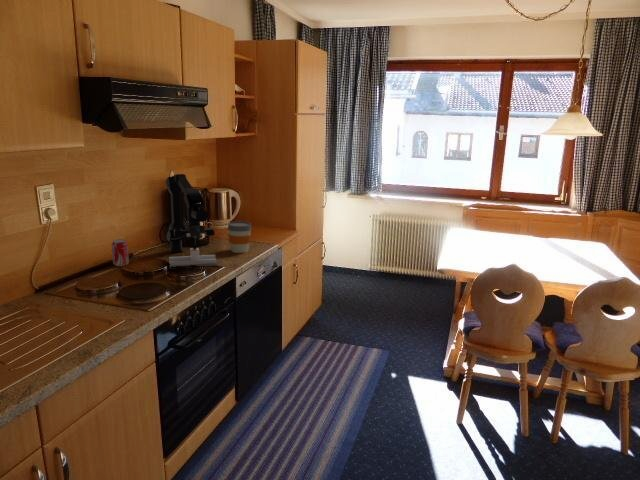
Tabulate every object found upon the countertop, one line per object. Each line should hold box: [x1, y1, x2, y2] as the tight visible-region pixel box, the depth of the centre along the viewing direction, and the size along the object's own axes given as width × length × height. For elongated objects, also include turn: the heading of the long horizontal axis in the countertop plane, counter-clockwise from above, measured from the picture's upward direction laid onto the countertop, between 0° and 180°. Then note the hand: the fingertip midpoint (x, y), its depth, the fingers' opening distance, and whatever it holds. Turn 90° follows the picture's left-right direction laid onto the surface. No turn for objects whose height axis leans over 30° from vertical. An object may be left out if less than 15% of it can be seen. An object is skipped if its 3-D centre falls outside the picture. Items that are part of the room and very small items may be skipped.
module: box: [189, 247, 201, 260], centre depth 230 cm, size 5×4×6 cm
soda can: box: [111, 238, 129, 267], centre depth 223 cm, size 7×7×12 cm
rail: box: [168, 254, 218, 269], centre depth 230 cm, size 10×22×3 cm, turn 108°
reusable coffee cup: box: [227, 221, 252, 254], centre depth 255 cm, size 13×13×15 cm
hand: (194, 249), depth 229 cm, fingers closed, pressing on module
